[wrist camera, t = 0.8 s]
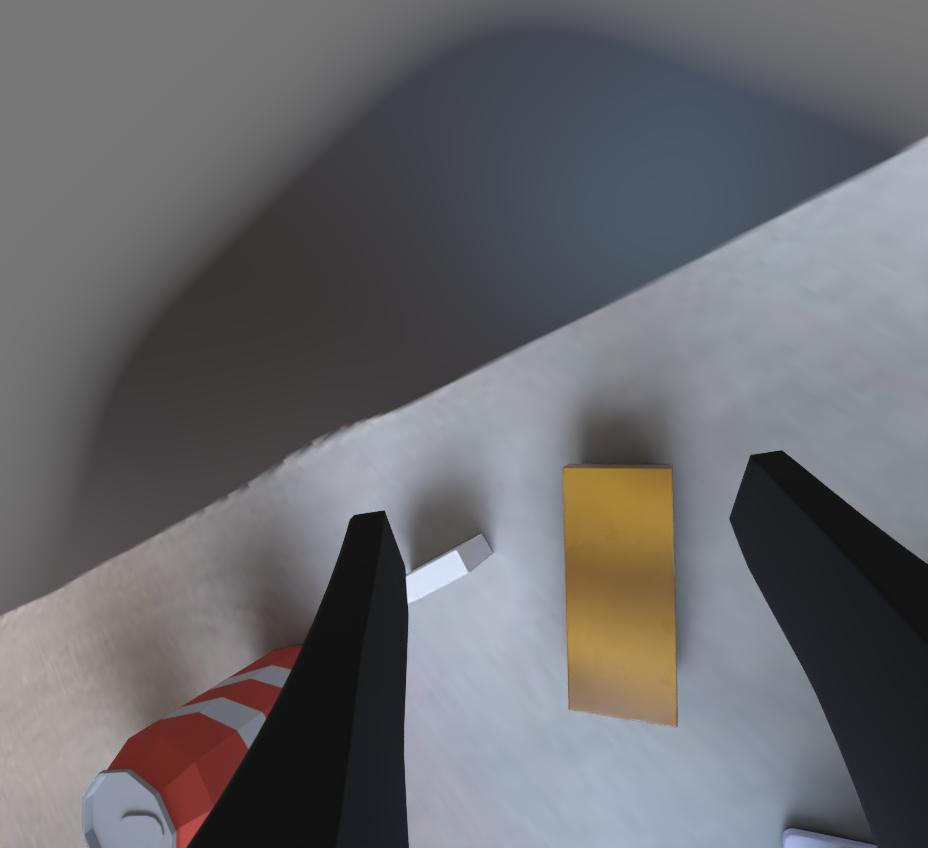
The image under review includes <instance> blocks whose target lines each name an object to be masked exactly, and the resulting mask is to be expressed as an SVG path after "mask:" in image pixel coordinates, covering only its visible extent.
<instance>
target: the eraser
mask: <svg viewBox="0 0 928 848" xmlns="http://www.w3.org/2000/svg"><path fill="white" fill-rule="evenodd" d="M492 554H493V553H492V551H491V549H490V547H489V545H488V543H487V542H486V540H485V538H484V536H483V534H482V533H481V534H479V535H477V536H475V537H473V538H471V539H470V540H468V541H466V542H464V543H462V544H460V545H459V546H457V547H455V548H453V549H451V550H449V551H448V552H446V553H444V554H442V555H440V556H438V557H437V558H435V559H433V560H431V561H429V562H427V563H426V564H424V565H422V566H420V567H418V568H416V569H415V570H413V571H411V572H409V573H408V574H406V586H407V601H408V604H410V603H412V602H414V601H416V600H418V599H420V598H422V597H424V596H426V595H428V594H430V593H431V592H433V591H435V590H437V589H439V588H441V587H443V586H445V585H447V584H449V583H451V582H453V581H454V580H456V579H458V578H460V577H462V576H464V575H466V574H468V573H469V572H471V571H472V570H473V569H474V568H476V567H477V566H478V565H479V564H481V563H482V562H483V561H484V560H486V559H487V558H488V557H489V556H491V555H492Z"/></svg>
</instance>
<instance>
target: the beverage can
mask: <svg viewBox="0 0 928 848" xmlns="http://www.w3.org/2000/svg"><path fill="white" fill-rule="evenodd" d="M302 646H303V645H301V646H294V647H286V648H279V649H275V650H274V651H272V652H271V653H269V654H267V655H266V656H264V657H262V658H261V659H259V660H257V661H256V662H254V663H252V664H251V665H249V666H247V667H246V668H244V669H243V670H241V671H239V672H238V673H236V674H234V675H233V676H231V677H229V678H228V679H226V680H224V681H223V682H221V683H219V684H218V685H216V686H214V687H213V688H211V689H210V690H208V691H206V692H205V693H203V694H201V695H200V696H198V697H196V698H195V699H193V700H191V701H190V702H188V703H186V704H185V705H183V706H182V707H180V708H178V709H177V710H175V711H173V712H172V713H170V714H168V715H167V716H165V717H163V718H162V719H160V720H158V721H157V722H155V723H154V724H152V725H150V726H149V727H147V728H145V729H144V730H142V731H140V732H139V733H137V734H135V735H134V736H132V737H130V738H129V739H128V740H127V742H126V743H125V745H124V746H123V748H122V749H121V750H120V752H119V753H118V755H117V756H116V758H115V759H114V760H113V762H112V763H111V765H110V766H109V768H108V769H107V770H103V771H102V772H100V773H99V774H98V775H97V777H96V778H95V780H94V781H93V782H92V784H91V785H90V787H89V788H88V790H87V791H86V793H85V794H84V795H83V797H82V836H83V838H84V841H85V843H86V846H87V848H186V847H187V846H188V844H189V843H190V841H191V840H192V838H193V837H194V835H195V834H196V832H197V831H198V829H199V828H200V826H201V825H202V823H203V822H204V820H205V819H206V817H207V816H208V814H209V813H210V811H211V810H212V808H213V807H214V805H215V804H216V802H217V801H218V799H219V797H220V796H221V794H222V793H223V791H224V789H225V788H226V786H227V785H228V783H229V781H230V780H231V778H232V777H233V775H234V773H235V772H236V770H237V768H238V766H239V765H240V763H241V761H242V760H243V758H244V756H245V755H246V753H247V751H248V750H249V748H250V746H251V744H252V743H253V741H254V739H255V738H256V736H257V734H258V732H259V731H260V729H261V727H262V725H263V723H264V721H265V720H266V718H267V716H268V714H269V712H270V711H271V709H272V707H273V705H274V703H275V701H276V699H277V697H278V695H279V693H280V691H281V689H282V688H283V686H284V684H285V682H286V680H287V678H288V676H289V674H290V671H291V669H292V667H293V665H294V663H295V661H296V659H297V656H298V654H299V652H300V650H301V648H302Z"/></svg>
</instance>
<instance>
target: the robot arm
mask: <svg viewBox="0 0 928 848" xmlns="http://www.w3.org/2000/svg"><path fill="white" fill-rule="evenodd" d="M729 519H730V522H731V524H732V527H733V530H734V533H735V535H736V538H737V541H738V543H739V546H740V548H741V551H742V553H743V556H744V558H745V561H746V563H747V565H748V568H749V569H750V571H751V573H752V575H753V577H754V579H755V581H756V583H757V585H758V586H759V588H760V590H761V592H762V594H763V596H764V598H765V599H766V601H767V603H768V605H769V607H770V609H771V610H772V612H773V614H774V616H775V618H776V620H777V621H778V623H779V625H780V627H781V629H782V631H783V632H784V634H785V636H786V638H787V640H788V641H789V643H790V645H791V647H792V649H793V651H794V652H795V654H796V656H797V658H798V660H799V662H800V663H801V665H802V667H803V669H804V671H805V673H806V675H807V677H808V679H809V681H810V683H811V685H812V687H813V689H814V691H815V693H816V695H817V697H818V699H819V702H820V704H821V706H822V709H823V711H824V713H825V716H826V718H827V720H828V723H829V725H830V727H831V730H832V732H833V734H834V737H835V739H836V741H837V744H838V746H839V748H840V751H841V753H842V756H843V758H844V761H845V763H846V766H847V768H848V771H849V773H850V776H851V778H852V781H853V783H854V786H855V788H856V791H857V793H858V796H859V798H860V801H861V804H862V806H863V809H864V812H865V815H866V817H867V820H868V823H869V825H870V828H871V831H872V834H873V836H874V839H875V842H876V844H877V845H873V844H868V843H863V842H858V841H853V840H848V839H843V838H839V837H834V836H829V835H824V834H819V833H814V832H810V831H805V830H800V829H795V828H790V829H787V830H785V832H784V833H783V836H782V846H783V848H928V564H927V563H925V562H924V561H922V560H921V559H920V558H918V557H917V556H916V555H914V554H913V553H912V552H910V551H909V550H907V549H906V548H905V547H903V546H902V545H901V544H899V543H898V542H897V541H895V540H894V539H893V538H891V537H890V536H889V535H888V534H886V533H885V532H884V531H882V530H881V529H880V528H878V527H877V526H876V525H874V524H873V523H872V522H871V521H869V520H868V519H867V518H865V517H864V516H863V515H862V514H860V513H859V512H858V511H856V510H855V509H854V508H853V507H851V506H850V505H849V504H848V503H846V502H845V501H844V500H843V499H841V498H840V497H839V496H838V495H837V494H835V493H834V492H833V491H832V490H830V489H829V488H828V487H827V486H825V485H824V484H823V483H822V482H820V481H819V480H818V479H817V478H816V477H814V476H813V475H812V474H811V473H809V472H808V471H807V470H806V469H805V468H803V467H802V466H801V465H800V464H798V463H797V462H796V461H795V460H793V459H792V458H791V457H790V456H788V455H787V454H786V453H785V452H783V451H782V450H781V451H775V452H768V453H761V454H755V455H750V458H749V461H748V464H747V467H746V470H745V473H744V476H743V479H742V482H741V485H740V488H739V491H738V494H737V497H736V500H735V503H734V506H733V509H732V512H731V515H730V518H729ZM407 642H408V601H407V586H406V572H405V565H404V562H403V560H402V557H401V554H400V552H399V549H398V546H397V543H396V541H395V538H394V535H393V532H392V530H391V527H390V524H389V521H388V519H387V516H386V513H385V510H384V511H378V512H371V513H364V514H358V515H354V516H353V517H352V518H351V519H350V521H349V525H348V528H347V532H346V535H345V538H344V541H343V545H342V548H341V551H340V554H339V557H338V559H337V562H336V565H335V568H334V571H333V573H332V576H331V579H330V581H329V584H328V587H327V589H326V592H325V594H324V597H323V599H322V601H321V604H320V606H319V609H318V611H317V614H316V616H315V619H314V621H313V624H312V626H311V628H310V630H309V633H308V635H307V637H306V639H305V641H304V643H303V646H302V648H301V650H300V652H299V654H298V656H297V659H296V661H295V663H294V665H293V667H292V669H291V671H290V674H289V676H288V678H287V680H286V682H285V684H284V686H283V688H282V689H281V691H280V693H279V695H278V697H277V699H276V701H275V703H274V705H273V707H272V709H271V711H270V712H269V714H268V716H267V718H266V720H265V721H264V723H263V725H262V727H261V729H260V731H259V732H258V734H257V736H256V738H255V739H254V741H253V743H252V744H251V746H250V748H249V750H248V751H247V753H246V755H245V756H244V758H243V760H242V761H241V763H240V765H239V766H238V768H237V770H236V772H235V773H234V775H233V777H232V778H231V780H230V781H229V783H228V785H227V786H226V788H225V789H224V791H223V793H222V794H221V796H220V797H219V799H218V801H217V802H216V804H215V805H214V807H213V808H212V810H211V811H210V813H209V814H208V816H207V817H206V819H205V820H204V822H203V823H202V825H201V826H200V828H199V829H198V831H197V832H196V834H195V835H194V837H193V838H192V840H191V841H190V843H189V844H188V846H187V847H186V848H409V843H408V826H407V808H406V787H405V766H404V716H405V692H406V668H407Z"/></svg>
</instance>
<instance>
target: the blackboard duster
mask: <svg viewBox="0 0 928 848" xmlns="http://www.w3.org/2000/svg"><path fill="white" fill-rule="evenodd" d="M563 498H564V537H565V577H566V617H567V657H568V697H569V710H573V711H579V712H585V713H591V714H597V715H604V716H610V717H616V718H622V719H628V720H635V721H641V722H647V723H653V724H659V725H666V726H672V727H677V726H678V700H677V651H676V602H675V554H674V505H673V465H671V464H569V465H567V466H565V467H563Z"/></svg>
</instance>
